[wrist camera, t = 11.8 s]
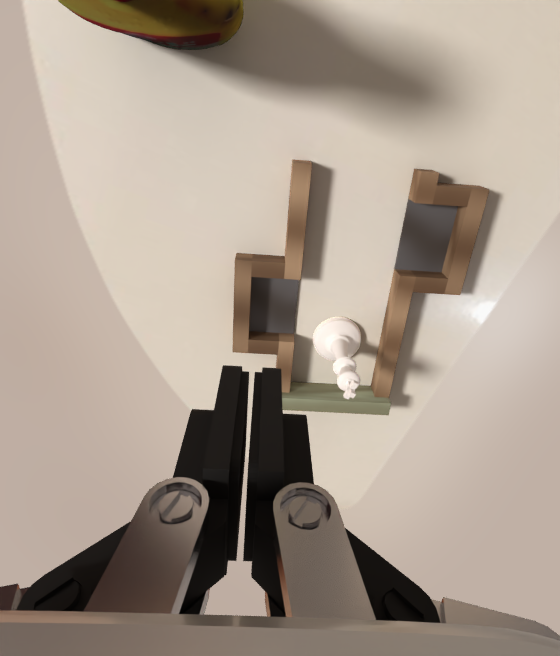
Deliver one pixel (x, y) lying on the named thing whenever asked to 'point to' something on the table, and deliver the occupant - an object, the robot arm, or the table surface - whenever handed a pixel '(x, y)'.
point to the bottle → (165, 20)
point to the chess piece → (340, 350)
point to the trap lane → (409, 276)
